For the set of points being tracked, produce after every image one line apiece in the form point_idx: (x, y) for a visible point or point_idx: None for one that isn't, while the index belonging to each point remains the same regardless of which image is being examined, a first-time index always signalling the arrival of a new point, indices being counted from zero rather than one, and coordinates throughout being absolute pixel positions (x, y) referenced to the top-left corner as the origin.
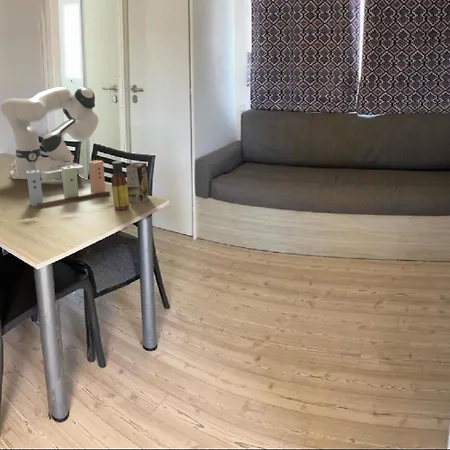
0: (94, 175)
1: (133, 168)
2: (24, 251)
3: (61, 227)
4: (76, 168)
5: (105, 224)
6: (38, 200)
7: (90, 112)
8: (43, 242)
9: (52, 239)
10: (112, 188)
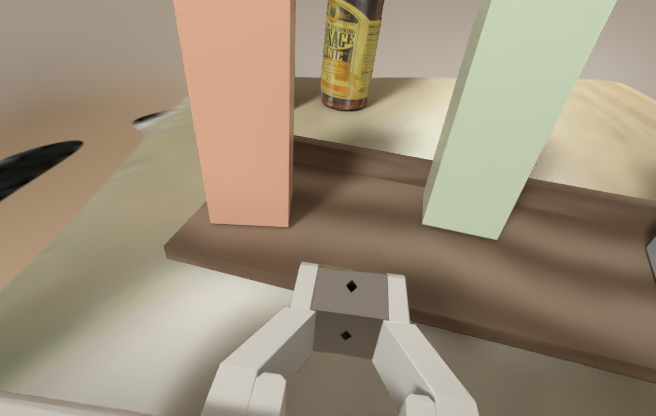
0: (294, 79)
1: None
2: (653, 102)
3: (560, 118)
4: (7, 394)
5: (448, 87)
6: None
7: None
8: (611, 103)
9: (589, 101)
10: (378, 30)
